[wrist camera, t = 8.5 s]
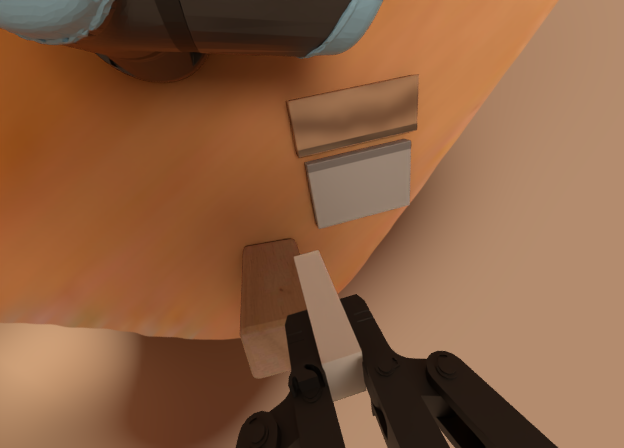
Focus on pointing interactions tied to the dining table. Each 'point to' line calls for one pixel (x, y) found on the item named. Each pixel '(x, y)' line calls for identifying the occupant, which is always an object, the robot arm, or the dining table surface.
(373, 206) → the plank
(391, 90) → the board
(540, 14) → the dining table surface
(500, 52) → the dining table surface
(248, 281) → the wooden block
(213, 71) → the dining table surface
